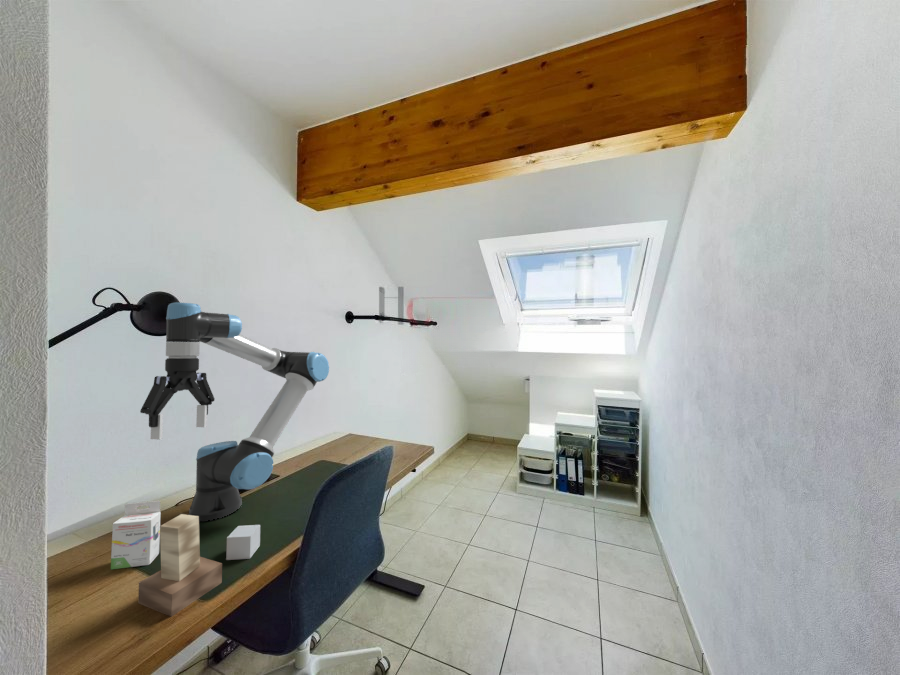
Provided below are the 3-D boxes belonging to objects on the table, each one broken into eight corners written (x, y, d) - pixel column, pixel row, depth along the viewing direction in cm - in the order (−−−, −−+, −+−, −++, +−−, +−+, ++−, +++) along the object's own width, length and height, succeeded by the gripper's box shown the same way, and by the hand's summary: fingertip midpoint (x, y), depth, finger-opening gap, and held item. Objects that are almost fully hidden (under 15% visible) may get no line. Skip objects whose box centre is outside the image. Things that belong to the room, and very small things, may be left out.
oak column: (182, 563, 81) (181, 514, 81) (200, 565, 80) (198, 516, 80) (161, 578, 77) (159, 526, 76) (179, 581, 76) (178, 528, 75)
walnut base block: (190, 573, 85) (191, 553, 86) (221, 584, 82) (222, 563, 82) (138, 605, 75) (138, 582, 75) (171, 618, 71) (172, 594, 72)
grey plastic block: (237, 547, 96) (238, 525, 97) (259, 545, 97) (260, 524, 97) (226, 560, 90) (226, 537, 91) (250, 558, 91) (250, 536, 91)
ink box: (108, 570, 86) (111, 511, 86) (122, 558, 91) (124, 503, 91) (149, 565, 88) (151, 507, 89) (160, 553, 93) (162, 499, 93)
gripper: (208, 356, 109) (206, 422, 108) (123, 358, 84) (120, 444, 84) (229, 356, 108) (227, 423, 107) (149, 359, 83) (146, 445, 83)
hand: (180, 432), depth 95 cm, fingers open, 13 cm apart
